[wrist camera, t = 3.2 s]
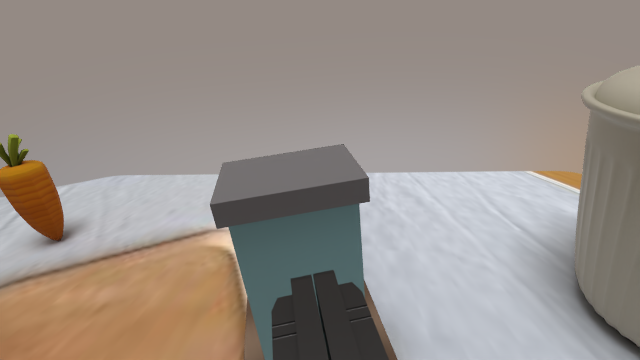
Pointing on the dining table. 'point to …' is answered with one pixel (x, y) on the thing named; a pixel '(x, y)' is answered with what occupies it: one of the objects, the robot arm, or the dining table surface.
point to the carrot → (31, 191)
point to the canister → (611, 203)
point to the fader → (291, 223)
